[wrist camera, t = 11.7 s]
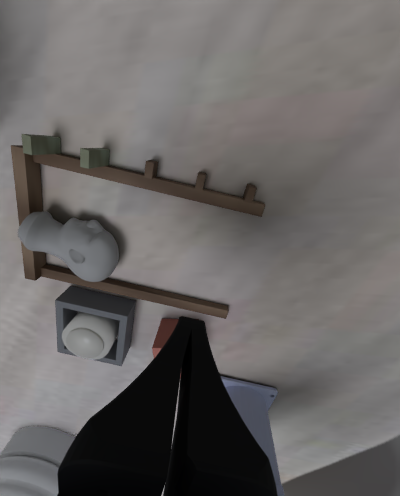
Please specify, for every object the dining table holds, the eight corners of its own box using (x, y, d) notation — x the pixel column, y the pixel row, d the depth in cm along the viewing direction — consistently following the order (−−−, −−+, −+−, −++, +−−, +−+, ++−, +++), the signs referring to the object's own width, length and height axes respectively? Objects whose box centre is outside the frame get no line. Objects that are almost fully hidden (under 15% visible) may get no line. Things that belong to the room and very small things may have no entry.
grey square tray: (129, 347, 27) (121, 366, 25) (71, 334, 27) (57, 351, 25) (135, 300, 24) (127, 316, 22) (70, 285, 24) (55, 300, 22)
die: (200, 346, 26) (196, 379, 23) (165, 345, 27) (156, 378, 23) (198, 319, 25) (194, 349, 21) (161, 318, 25) (151, 348, 21)
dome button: (120, 341, 26) (107, 366, 23) (78, 332, 26) (60, 356, 23) (123, 308, 24) (110, 331, 21) (78, 298, 24) (59, 320, 21)
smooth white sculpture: (135, 239, 23) (107, 281, 23) (60, 191, 21) (32, 237, 22) (127, 247, 19) (94, 297, 19) (33, 188, 17) (-2, 244, 18)
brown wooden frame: (225, 313, 24) (226, 336, 21) (37, 270, 24) (11, 287, 21) (268, 188, 19) (277, 196, 16) (25, 129, 18) (-11, 126, 15)
